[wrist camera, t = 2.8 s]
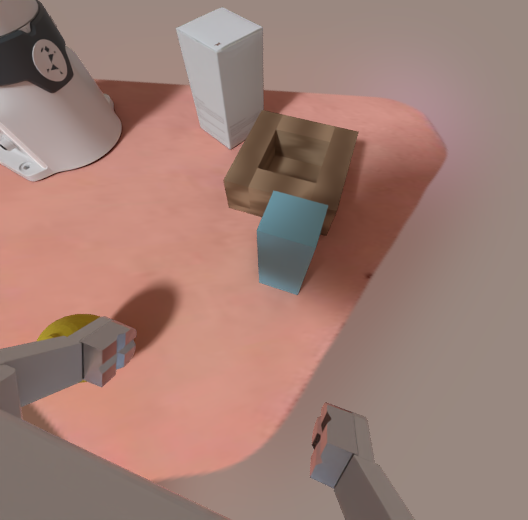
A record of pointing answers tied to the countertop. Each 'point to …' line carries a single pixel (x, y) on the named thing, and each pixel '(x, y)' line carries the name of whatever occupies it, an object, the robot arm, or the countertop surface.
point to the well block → (290, 164)
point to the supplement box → (224, 73)
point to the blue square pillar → (288, 240)
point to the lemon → (67, 326)
